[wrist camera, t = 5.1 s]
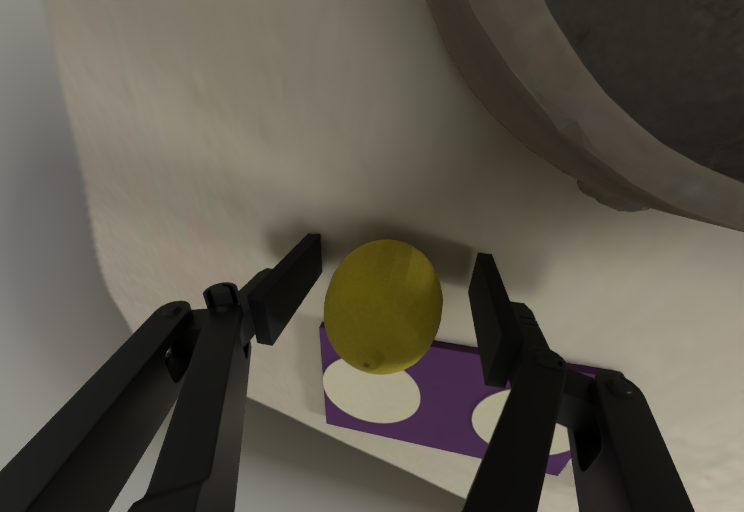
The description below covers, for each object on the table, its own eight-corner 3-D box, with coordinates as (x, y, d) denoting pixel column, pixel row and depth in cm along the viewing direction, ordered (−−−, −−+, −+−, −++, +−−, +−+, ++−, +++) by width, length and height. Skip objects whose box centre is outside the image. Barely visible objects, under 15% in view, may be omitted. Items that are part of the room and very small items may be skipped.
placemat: (321, 321, 21) (318, 328, 20) (622, 372, 18) (628, 381, 17) (328, 417, 26) (326, 424, 26) (555, 468, 23) (558, 477, 23)
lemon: (397, 198, 15) (367, 275, 8) (460, 267, 16) (479, 385, 9) (333, 253, 18) (268, 348, 11) (391, 310, 19) (366, 428, 12)
